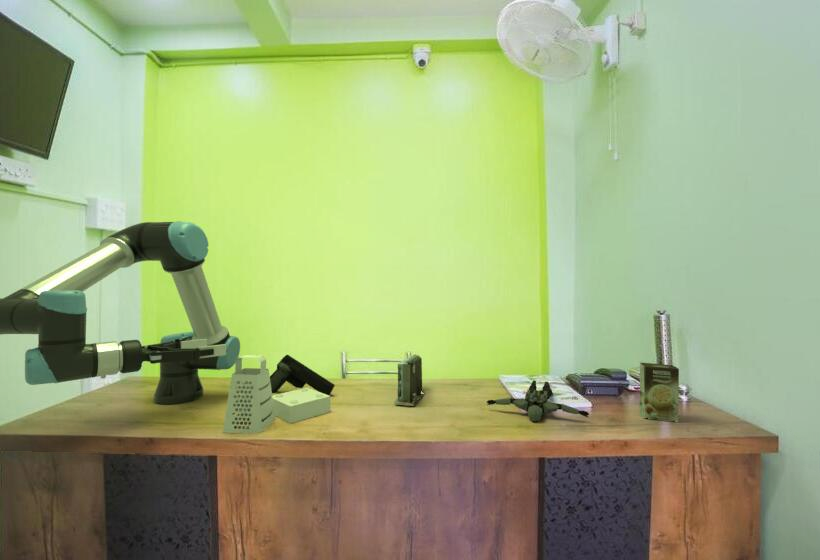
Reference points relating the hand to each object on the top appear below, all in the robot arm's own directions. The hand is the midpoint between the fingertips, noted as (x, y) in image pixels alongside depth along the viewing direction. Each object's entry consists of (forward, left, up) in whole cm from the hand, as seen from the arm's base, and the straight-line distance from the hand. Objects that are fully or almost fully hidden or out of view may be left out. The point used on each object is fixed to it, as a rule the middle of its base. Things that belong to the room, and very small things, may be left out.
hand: (215, 346), depth 104 cm
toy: (+53, +82, -24) cm, 101 cm away
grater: (0, +9, -24) cm, 26 cm away
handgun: (-18, +35, -24) cm, 47 cm away
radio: (+14, +61, -24) cm, 67 cm away
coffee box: (+84, +99, -24) cm, 132 cm away
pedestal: (0, +25, -24) cm, 35 cm away
